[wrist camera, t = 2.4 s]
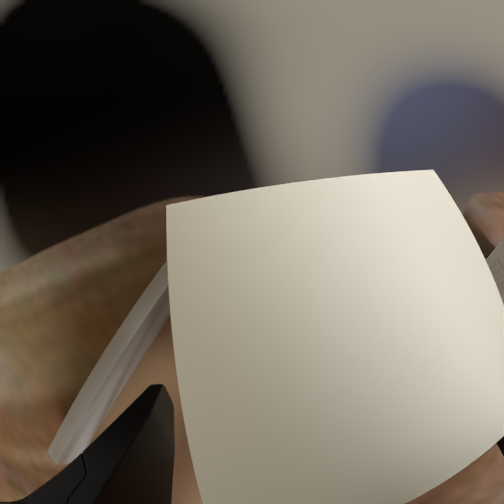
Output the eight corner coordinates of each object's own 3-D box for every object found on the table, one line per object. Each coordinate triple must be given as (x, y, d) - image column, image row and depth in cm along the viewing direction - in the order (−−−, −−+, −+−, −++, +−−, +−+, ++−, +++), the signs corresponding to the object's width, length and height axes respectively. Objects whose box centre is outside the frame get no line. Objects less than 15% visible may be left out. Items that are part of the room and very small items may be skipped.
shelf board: (393, 335, 16) (420, 320, 13) (257, 559, 8) (255, 587, 5) (207, 246, 20) (196, 216, 16) (76, 447, 12) (44, 450, 9)
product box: (351, 412, 13) (526, 412, 2) (252, 436, 12) (217, 548, 2) (327, 318, 15) (426, 160, 5) (234, 338, 15) (166, 192, 5)
